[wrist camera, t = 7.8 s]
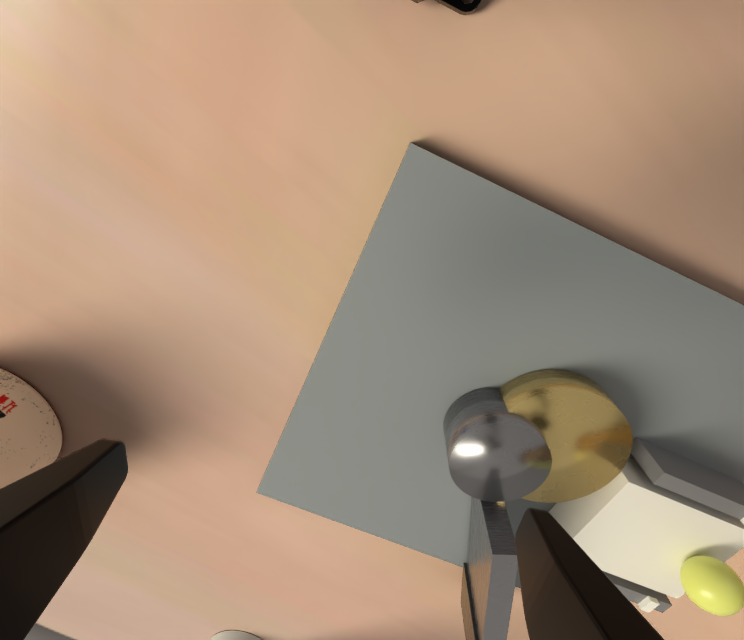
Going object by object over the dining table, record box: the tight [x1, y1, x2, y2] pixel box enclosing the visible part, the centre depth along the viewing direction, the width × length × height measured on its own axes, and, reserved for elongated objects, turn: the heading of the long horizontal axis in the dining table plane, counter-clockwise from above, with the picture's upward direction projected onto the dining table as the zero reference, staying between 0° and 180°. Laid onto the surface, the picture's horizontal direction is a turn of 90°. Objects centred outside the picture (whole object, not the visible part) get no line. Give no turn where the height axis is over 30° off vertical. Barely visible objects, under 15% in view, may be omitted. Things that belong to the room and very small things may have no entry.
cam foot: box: [549, 458, 744, 616], centre depth 22 cm, size 6×8×5 cm
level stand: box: [256, 143, 744, 613], centre depth 22 cm, size 22×26×4 cm
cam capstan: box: [443, 369, 633, 640], centre depth 22 cm, size 9×18×5 cm, turn 3°
